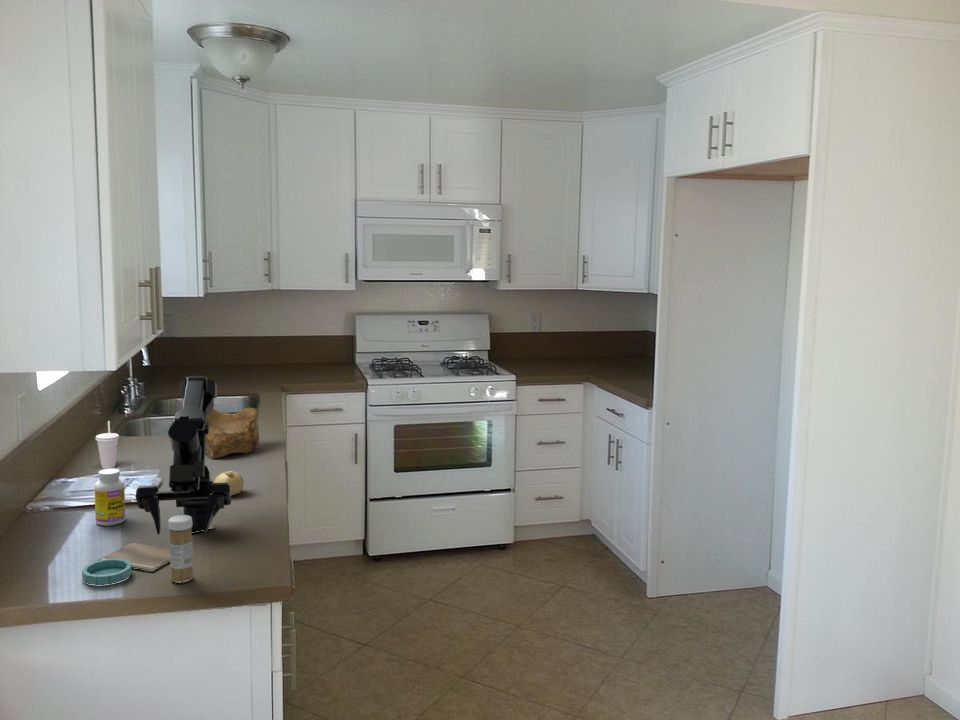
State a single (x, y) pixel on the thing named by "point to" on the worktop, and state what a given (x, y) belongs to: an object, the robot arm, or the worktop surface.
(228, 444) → the rough brown rock
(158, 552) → the board
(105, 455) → the smoothie
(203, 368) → the worktop surface
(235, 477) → the onion
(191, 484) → the robot arm
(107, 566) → the bowl
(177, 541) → the sprinkles bottle
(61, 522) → the worktop surface
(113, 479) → the supplement bottle
